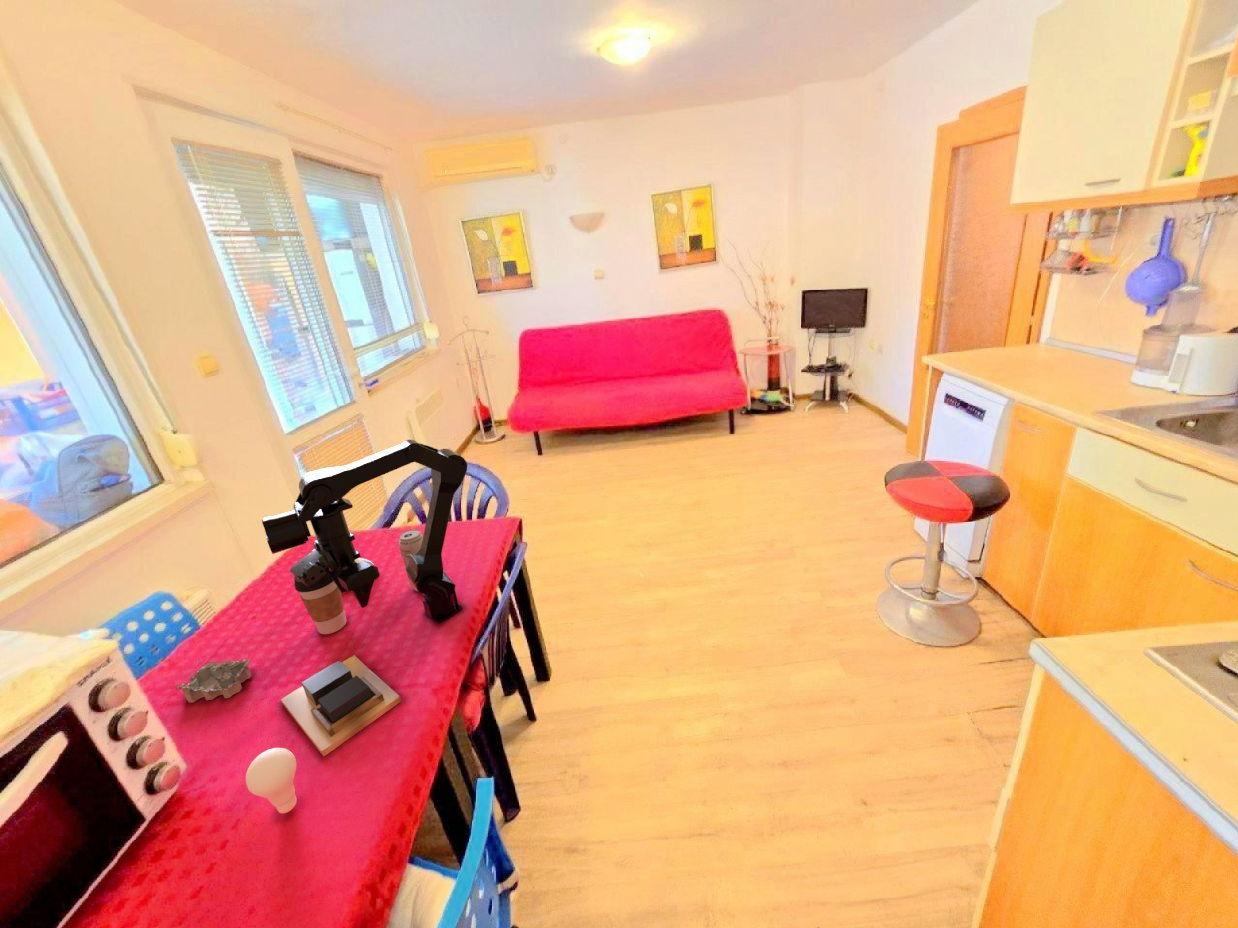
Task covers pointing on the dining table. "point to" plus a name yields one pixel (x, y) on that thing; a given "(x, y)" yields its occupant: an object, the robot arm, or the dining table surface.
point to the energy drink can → (410, 547)
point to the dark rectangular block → (344, 699)
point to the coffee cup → (323, 604)
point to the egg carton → (216, 680)
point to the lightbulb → (274, 778)
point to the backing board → (332, 735)
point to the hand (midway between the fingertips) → (354, 599)
